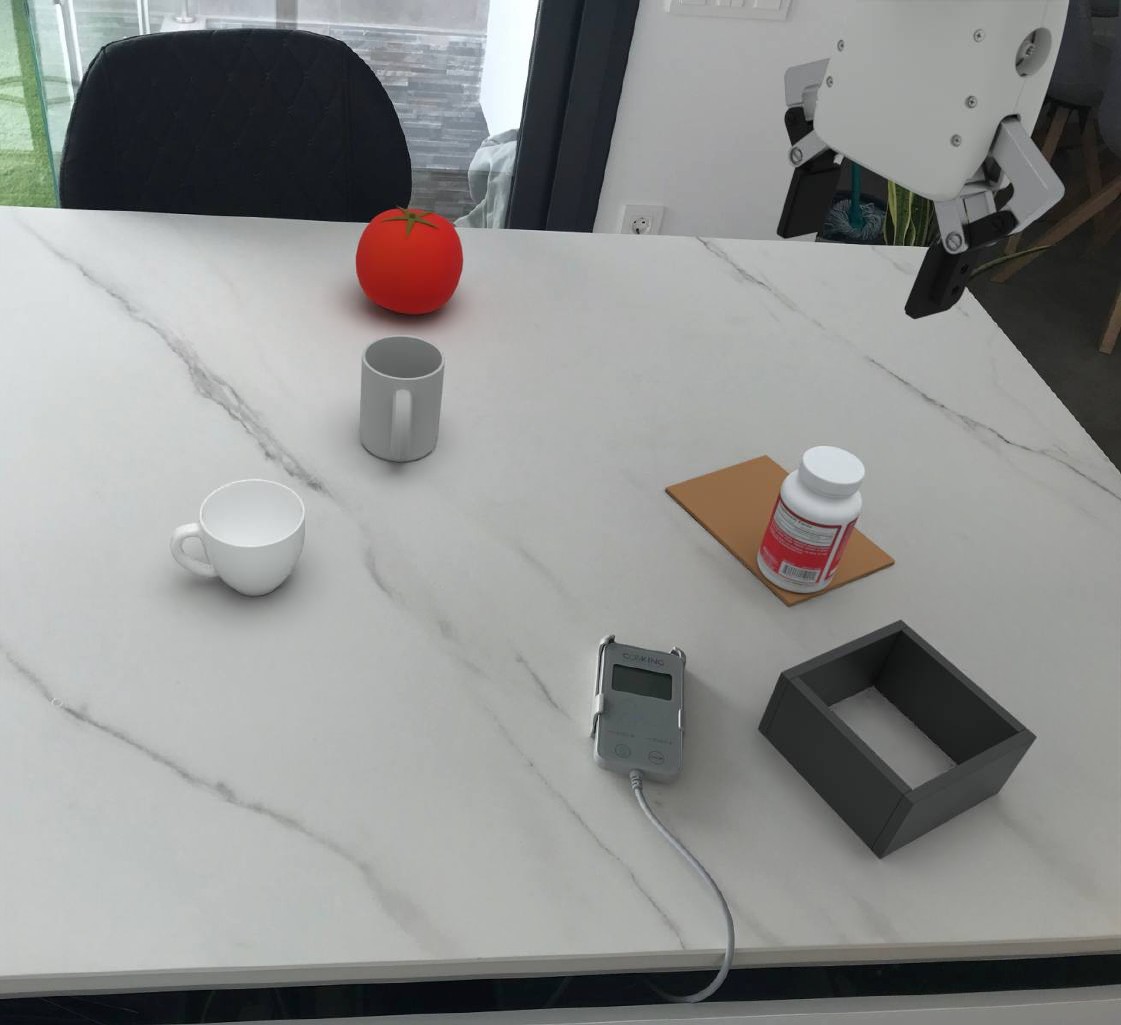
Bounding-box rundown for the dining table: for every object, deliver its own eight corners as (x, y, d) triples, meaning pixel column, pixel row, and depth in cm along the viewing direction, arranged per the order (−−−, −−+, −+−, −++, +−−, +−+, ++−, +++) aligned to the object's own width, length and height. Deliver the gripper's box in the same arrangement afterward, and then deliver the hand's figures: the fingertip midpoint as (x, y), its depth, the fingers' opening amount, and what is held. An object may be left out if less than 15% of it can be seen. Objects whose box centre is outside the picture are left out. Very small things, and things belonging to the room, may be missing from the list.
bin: (999, 791, 74) (1037, 736, 70) (880, 859, 69) (913, 804, 65) (872, 674, 81) (900, 618, 77) (757, 728, 76) (780, 671, 72)
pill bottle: (802, 539, 92) (843, 434, 85) (846, 587, 88) (893, 481, 80) (740, 552, 90) (776, 446, 83) (782, 602, 86) (824, 495, 79)
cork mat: (894, 564, 91) (895, 560, 91) (789, 607, 86) (790, 603, 86) (765, 457, 101) (766, 454, 101) (664, 490, 96) (665, 487, 96)
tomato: (464, 284, 123) (473, 196, 116) (449, 339, 113) (458, 247, 106) (367, 271, 123) (370, 183, 116) (344, 324, 114) (346, 232, 107)
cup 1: (313, 605, 82) (312, 539, 78) (178, 622, 80) (170, 555, 75) (297, 539, 88) (296, 473, 83) (171, 553, 85) (164, 486, 81)
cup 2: (436, 418, 102) (443, 337, 96) (439, 485, 95) (447, 400, 89) (360, 415, 102) (363, 332, 96) (356, 481, 94) (359, 396, 88)
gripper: (1208, -23, 45) (1033, 333, 56) (895, -113, 56) (800, 198, 67) (1097, -11, 42) (934, 363, 53) (789, -109, 53) (707, 217, 64)
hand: (859, 270), depth 60 cm, fingers open, 9 cm apart
